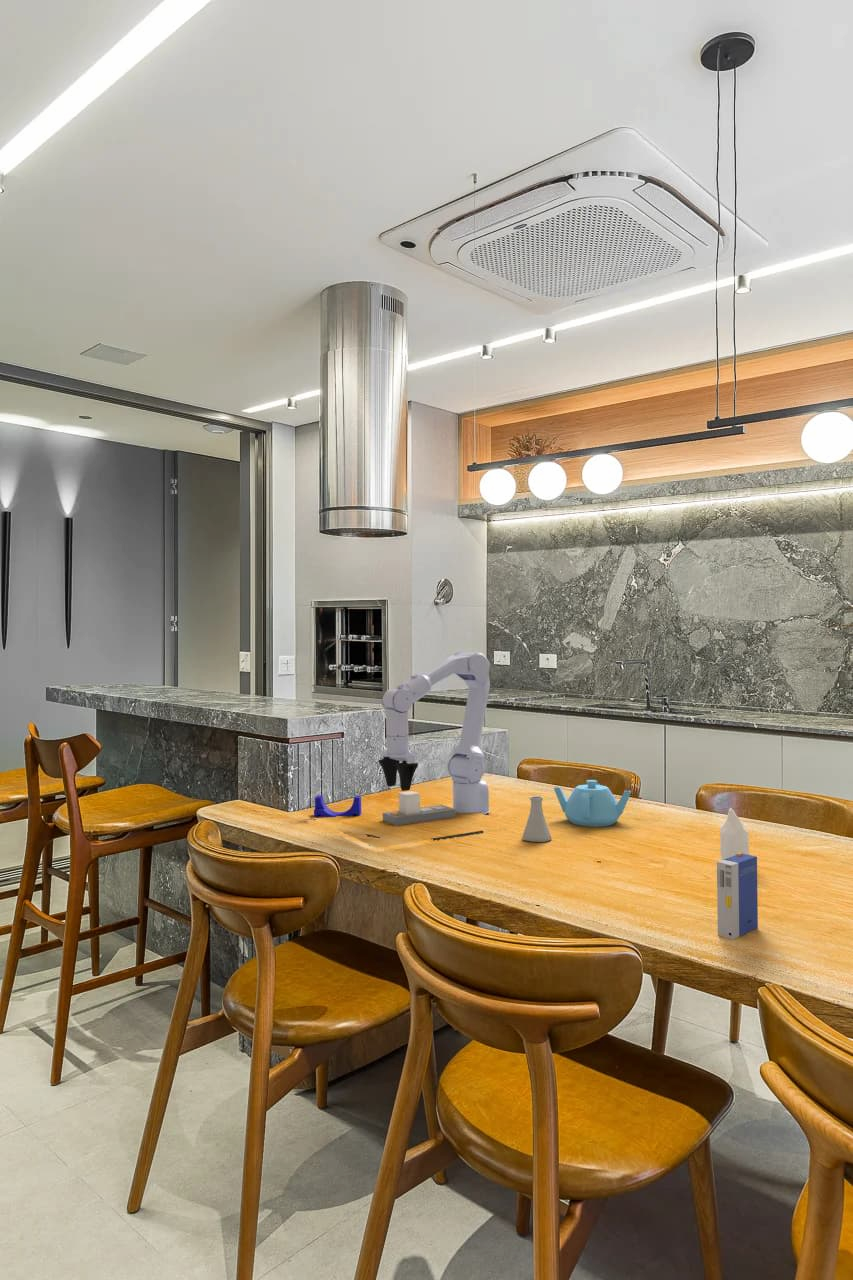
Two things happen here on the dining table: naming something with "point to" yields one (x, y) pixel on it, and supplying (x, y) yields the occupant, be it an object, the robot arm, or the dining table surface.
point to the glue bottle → (733, 837)
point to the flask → (536, 823)
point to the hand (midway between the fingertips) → (398, 788)
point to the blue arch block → (326, 812)
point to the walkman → (737, 895)
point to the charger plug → (409, 803)
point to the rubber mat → (459, 835)
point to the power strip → (420, 815)
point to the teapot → (592, 805)
